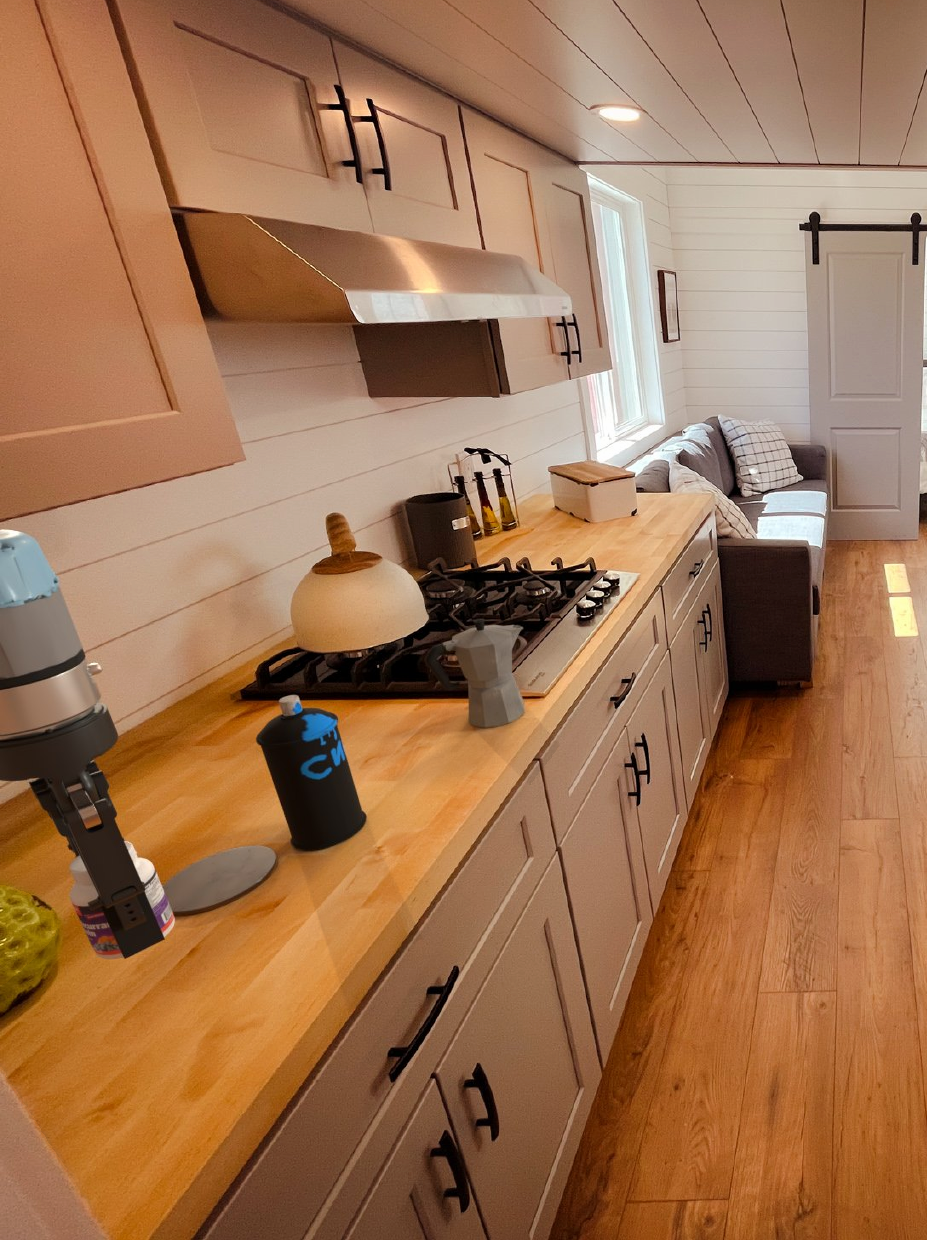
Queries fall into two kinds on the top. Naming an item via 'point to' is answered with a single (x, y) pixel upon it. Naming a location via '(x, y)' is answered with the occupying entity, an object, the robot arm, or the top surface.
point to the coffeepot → (484, 672)
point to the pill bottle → (95, 919)
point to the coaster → (219, 879)
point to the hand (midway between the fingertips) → (134, 931)
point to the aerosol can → (311, 775)
